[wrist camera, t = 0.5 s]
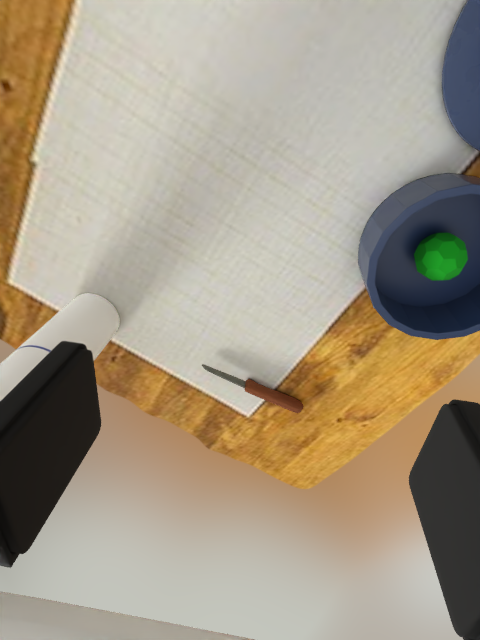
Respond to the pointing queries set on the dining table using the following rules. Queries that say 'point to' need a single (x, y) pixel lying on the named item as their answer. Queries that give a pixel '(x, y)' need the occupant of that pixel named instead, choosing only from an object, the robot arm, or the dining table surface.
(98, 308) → the cylindrical container
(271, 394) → the kitchen knife
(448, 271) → the polyhedron
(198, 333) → the dining table surface
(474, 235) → the pot
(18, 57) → the dining table surface
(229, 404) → the dining table surface
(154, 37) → the dining table surface
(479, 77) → the lid
